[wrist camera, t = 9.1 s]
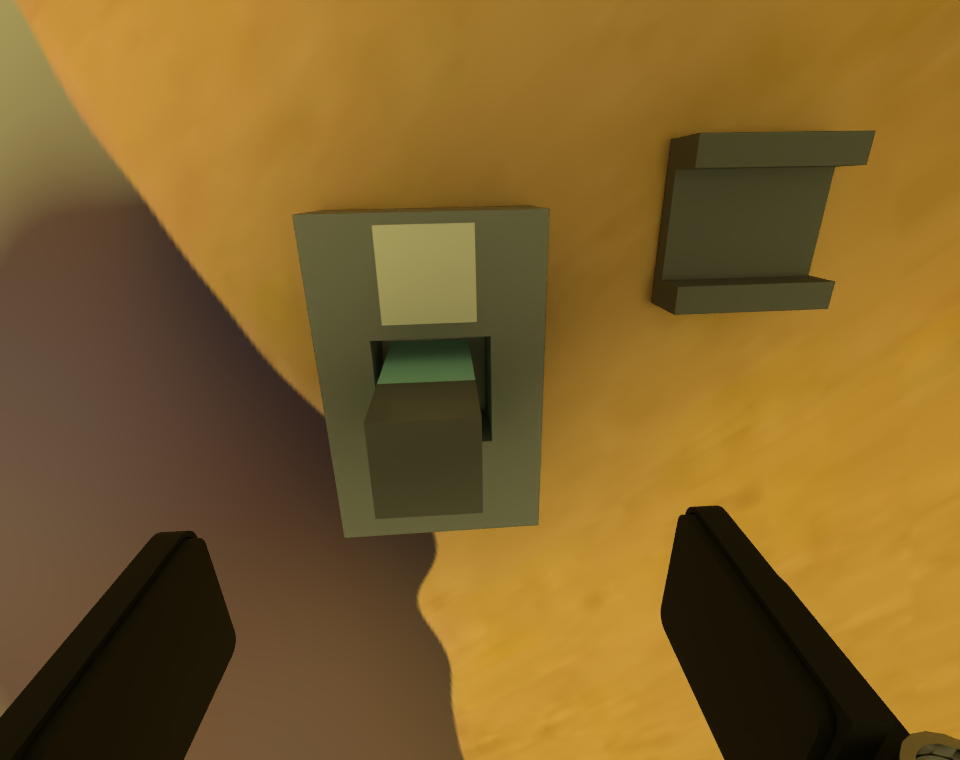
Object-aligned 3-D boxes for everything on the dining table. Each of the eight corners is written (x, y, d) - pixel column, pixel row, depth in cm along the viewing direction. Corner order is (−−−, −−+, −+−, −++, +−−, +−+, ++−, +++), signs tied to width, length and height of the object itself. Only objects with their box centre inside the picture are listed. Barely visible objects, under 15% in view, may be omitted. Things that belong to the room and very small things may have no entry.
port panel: (320, 210, 20) (290, 215, 16) (529, 205, 20) (550, 208, 16) (359, 486, 25) (343, 540, 21) (524, 476, 26) (539, 528, 22)
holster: (671, 139, 20) (699, 133, 17) (828, 137, 20) (875, 130, 18) (651, 302, 22) (674, 314, 20) (790, 297, 23) (827, 308, 21)
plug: (391, 341, 21) (363, 422, 14) (468, 339, 21) (481, 417, 14) (397, 411, 22) (375, 519, 15) (469, 407, 23) (483, 512, 15)
